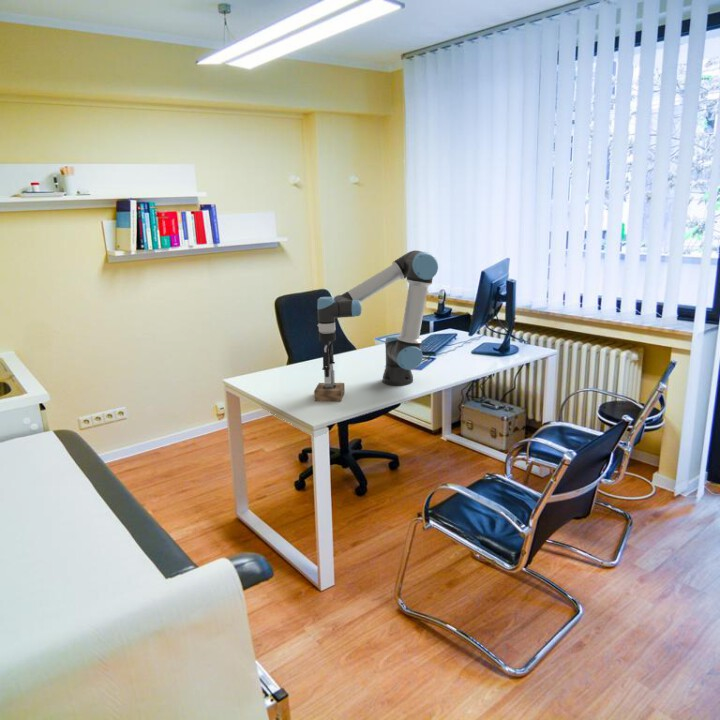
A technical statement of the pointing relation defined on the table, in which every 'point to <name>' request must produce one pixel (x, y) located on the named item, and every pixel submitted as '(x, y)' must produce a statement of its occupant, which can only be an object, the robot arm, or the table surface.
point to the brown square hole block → (329, 392)
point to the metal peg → (332, 385)
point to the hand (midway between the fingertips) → (329, 380)
